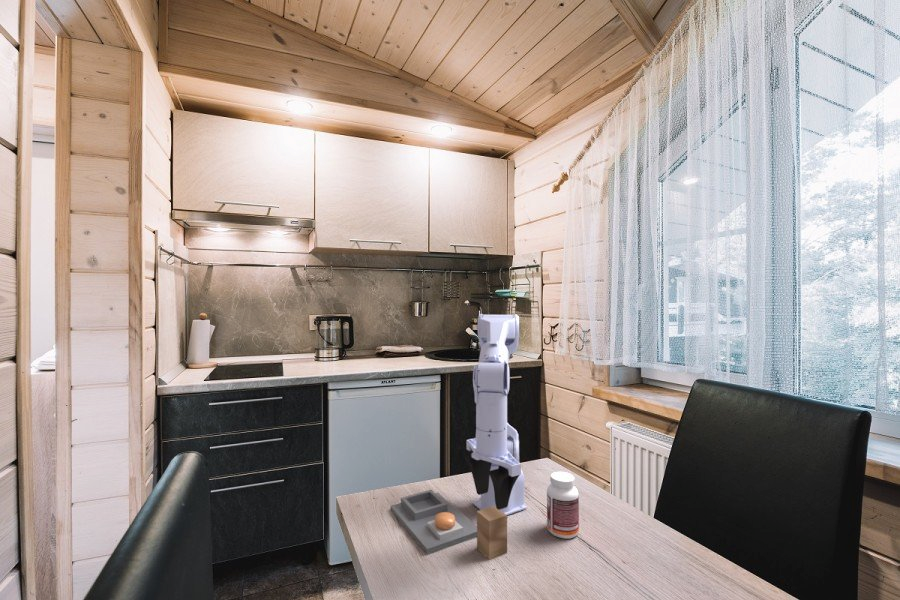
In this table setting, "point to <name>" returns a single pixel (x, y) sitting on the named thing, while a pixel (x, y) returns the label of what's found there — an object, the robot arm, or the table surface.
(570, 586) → the table surface
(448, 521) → the button
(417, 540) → the loading station
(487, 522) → the block
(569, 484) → the pill bottle
